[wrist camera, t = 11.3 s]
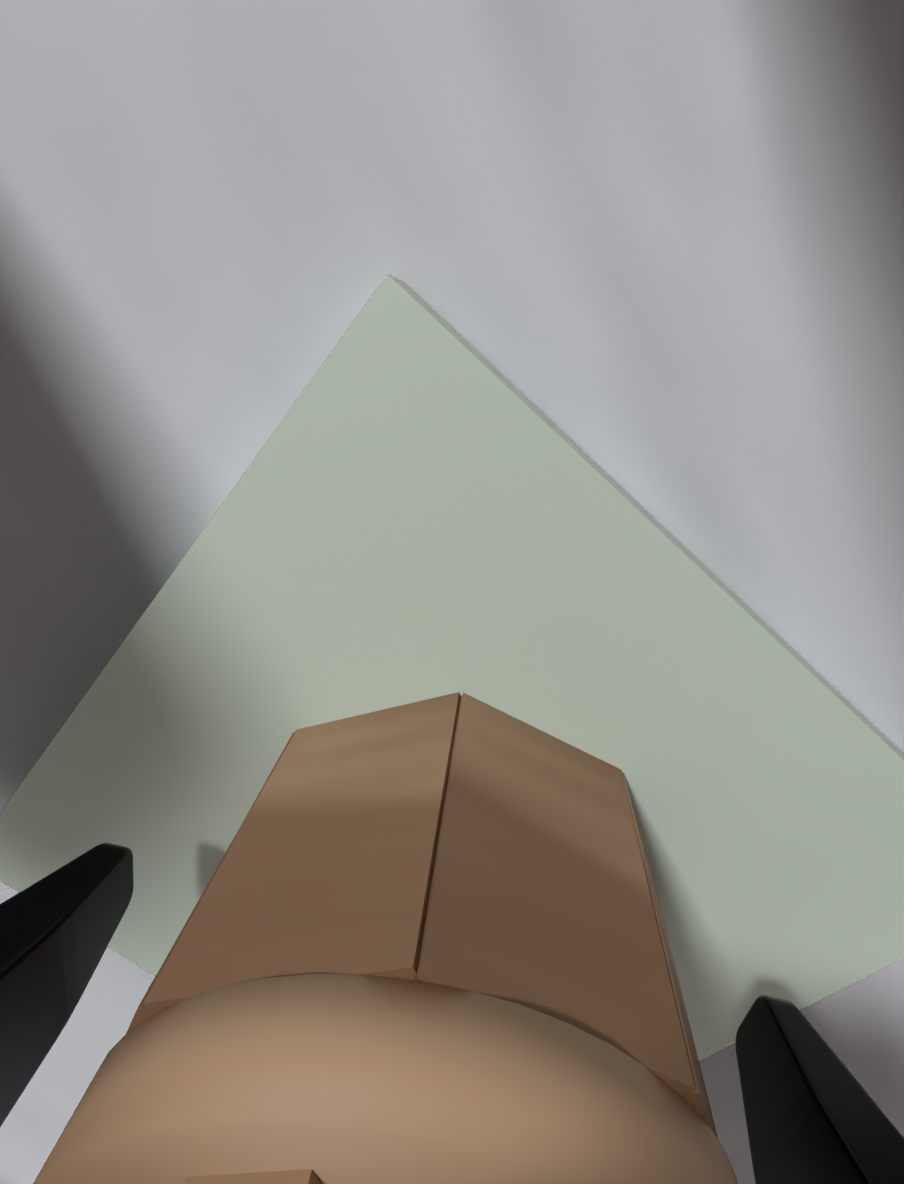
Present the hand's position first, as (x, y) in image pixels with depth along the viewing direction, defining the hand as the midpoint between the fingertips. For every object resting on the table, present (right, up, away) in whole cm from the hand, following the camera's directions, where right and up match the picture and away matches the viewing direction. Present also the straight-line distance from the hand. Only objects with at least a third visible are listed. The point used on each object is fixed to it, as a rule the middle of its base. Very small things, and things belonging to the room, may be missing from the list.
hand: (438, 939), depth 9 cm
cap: (0, 0, +1) cm, 1 cm away
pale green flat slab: (0, +1, +2) cm, 2 cm away
